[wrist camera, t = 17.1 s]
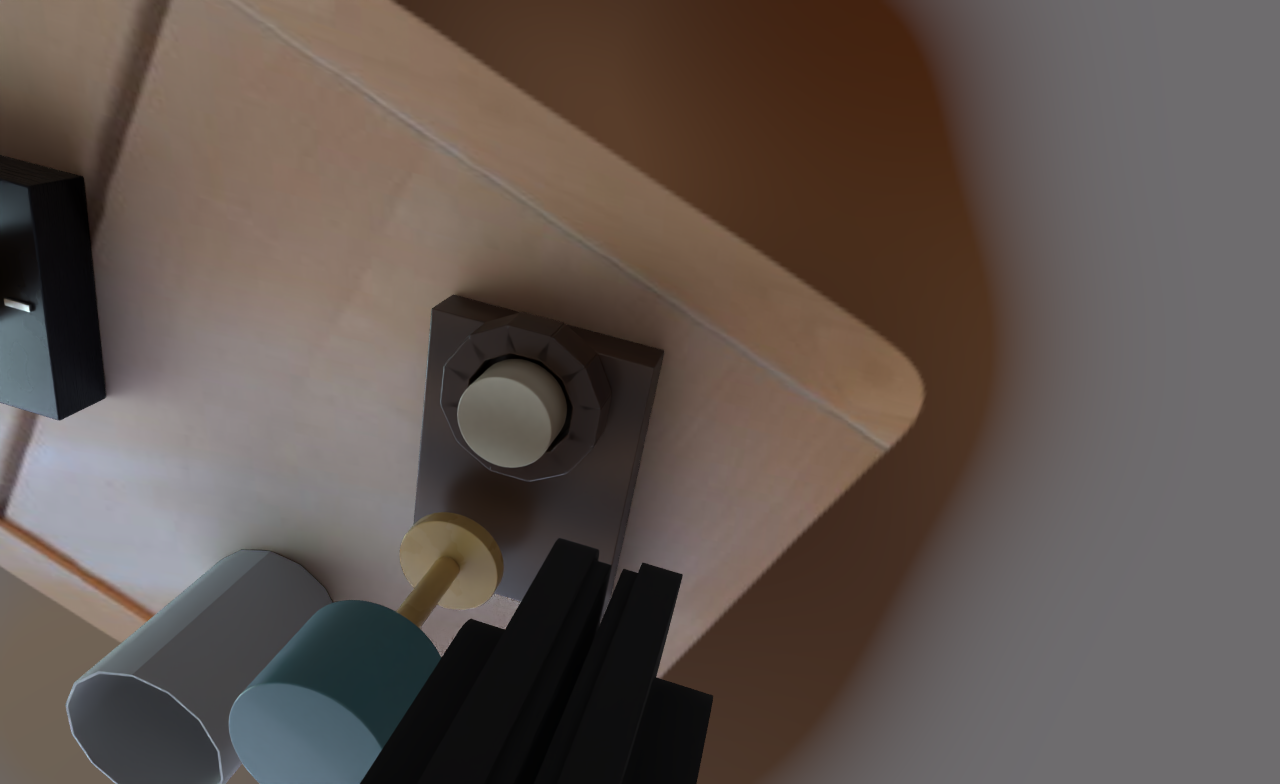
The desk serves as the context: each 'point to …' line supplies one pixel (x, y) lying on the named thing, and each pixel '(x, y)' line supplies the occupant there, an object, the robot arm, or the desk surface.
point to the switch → (512, 413)
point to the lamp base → (574, 462)
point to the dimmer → (47, 293)
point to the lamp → (360, 664)
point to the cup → (191, 672)
